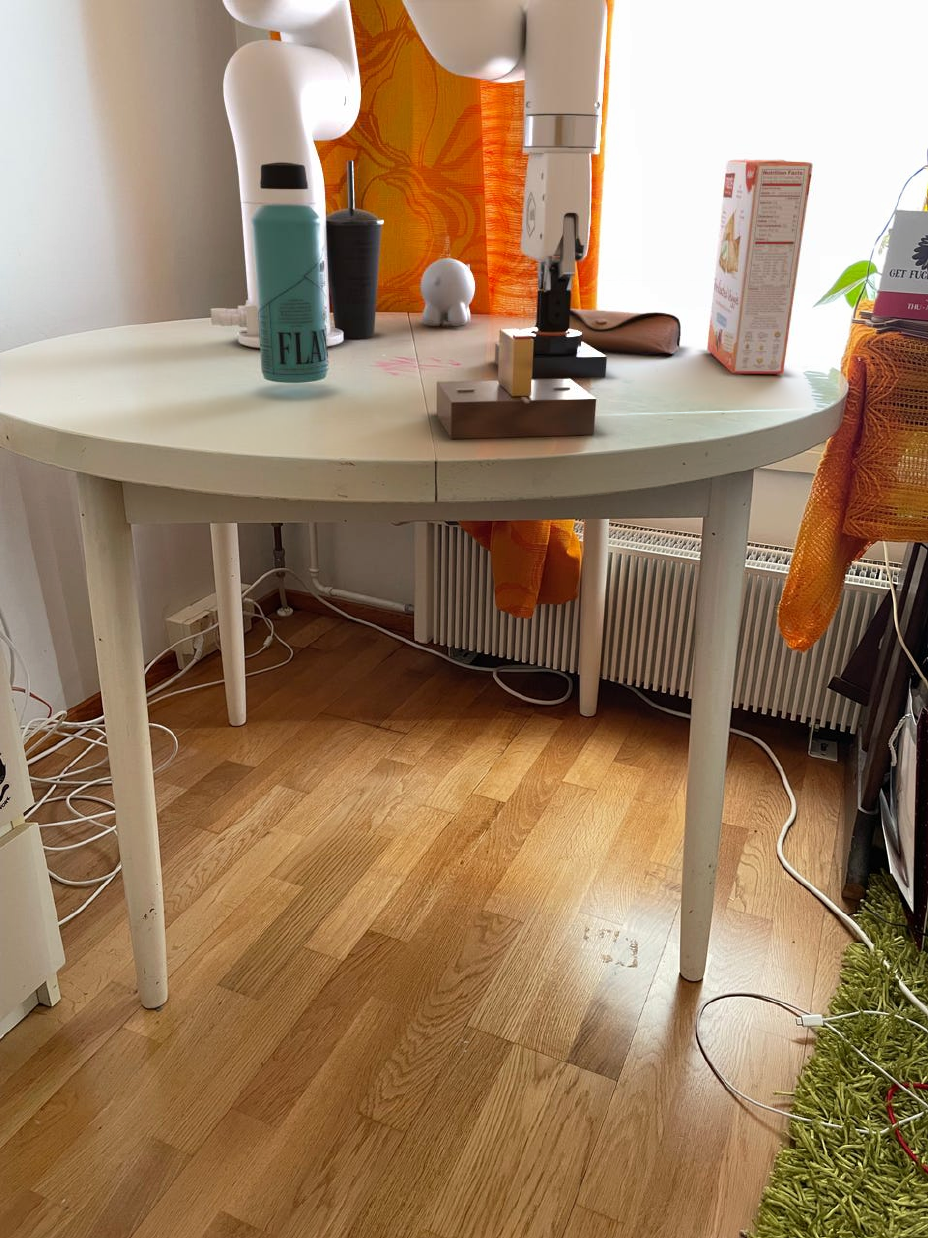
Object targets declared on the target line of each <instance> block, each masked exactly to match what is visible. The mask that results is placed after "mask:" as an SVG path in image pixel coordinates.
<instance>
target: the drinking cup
mask: <svg viewBox="0 0 928 1238" xmlns="http://www.w3.org/2000/svg"><path fill="white" fill-rule="evenodd" d="M346 167H347V171H346V173H347V198H348V199H347V202H348V203H347V204H348V208H342V209H338V210H335V211H332V212H331V213H329V214H326V235H327V259H328V283H329V294H330V299H331V308H332V309H331V310H332V317H333V325H334V328H338V329H340V330H342V331H343V339H345V340H346V339H347V340H361V339H362V340H363V339H371V338H373V337H375V326H376V324H375V323H376V313H377V312H376V311H377V297H378V281H379V268H380V267H379V266H380V252H381V251H380V250H381V240H382V239H381V238H382V226H383V225H384V224H385V221H384V219H382V218H379V217H378V216H376V215H375V214H374V213H372V212H370V211H367V210H364V209H360V208H355V189H354V188H355V187H354V185H355V184H354V183H355V182H354V161H353V160H346Z"/></svg>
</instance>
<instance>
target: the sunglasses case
mask: <svg viewBox="0 0 928 1238" xmlns="http://www.w3.org/2000/svg"><path fill="white" fill-rule="evenodd" d="M534 328H537V327H536V324H535V325H534ZM569 329H571V330H577V331H579V332H581V333H582V342H584V343H585V344H587V345H589V346H590V347H592V348H594V349H595V350H597V351H598V352H600V353H607V354H619V355H653V354H654V355H655V354H667V355H668V354H670V355H675V354H676V353H677V351H678V350H680V347H681V346H680V342H681V336H682V335H681V334H682V333H681V321H680V319H679V318H678V317H677V316H675V315H673V314H670V313H665V312H657V311H656V312H644V313H643V312H642V313H640V312H628V311H615V310H613V311H612V310H603V309H600V310H598V309H581V308H572V307H570V325H569Z"/></svg>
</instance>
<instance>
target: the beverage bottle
mask: <svg viewBox="0 0 928 1238" xmlns="http://www.w3.org/2000/svg"><path fill="white" fill-rule="evenodd" d="M260 187H261V189H308V183H307V179H306V170H305V166H304V165H299V164H294V163H286V162H278V163H270V164H264V165H261V181H260ZM251 224H252V230H253V244H254V257H255V271H256V284H257V297H258V324H259V338H260V348H259V350H260V352H259V353H260V366H261V373H262V377H263V379H264V380H266V381H269V382H275V383H282V384H283V383H285V384H301V383H310V382H318V381H321V380H324V379H326V377H327V375H328V370H329V369H330V366H329V364H330V363H329V360H328V359H329V352H328V351H329V350H328V348H329V346H327V344H326V336H327V328H326V325H325V319H326V318H327V316H326V314H325V313H326V312H325V308H326V307H325V308H324V295H325V294H324V286H325V285H323V284H325V282H324V278H325V273H324V278H323V270H325V269H324V262H323V261H322V255H323V253H322V250H324V248H323V249H322V244H321V228H320V225H321V218H320V217H319V215H318V214H317V213H316V212H315V211H314V210H313V209H312V208H311V207H310V206H307V205H287V204H277V205H262V206H261V207H260V208H259V209H258V210H257V211H256V212H255V214H254V215H253V216H252V218H251ZM323 282H324V283H323ZM325 299H326V298H325ZM325 316H326V318H325ZM327 338H328V337H327ZM327 340H328V339H327ZM327 343H328V341H327Z"/></svg>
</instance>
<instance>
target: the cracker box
mask: <svg viewBox="0 0 928 1238" xmlns="http://www.w3.org/2000/svg"><path fill="white" fill-rule="evenodd" d="M812 171H813V163H812V162H807V161H790V160H785V159H748V158H747V159H746V158H745V159H732V160H727V161H726V166H725V176H724V185H723V193H722V194H723V195H722V204H721V215H720V224H719V225H720V226H719V234H718V243H717V253H716V262H715V269H714V270H715V271H714V280H713V290H712V300H711V307H710V309H711V310H710V318H709V329H708V337H707V345H706V346H707V347H706V349H707V351H709V353H710V354H712V356H713V357H715V359H716V360H717V361H718V362H720V363H721V365H723V366H724V367H725V368H726V369H727V370H728V371H729V373H731V374H733V375H783V374H784V370H785V364H786V363H785V362H786V356H787V347H788V342H789V334H790V327H791V321H792V320H791V319H792V314H793V313H792V312H793V305H794V300H795V299H794V298H795V293H796V292H795V290H796V285H797V277H798V270H799V264H800V257H801V249H802V241H803V235H804V228H805V221H806V216H807V215H806V214H807V208H808V201H809V193H810V186H811V180H812V173H813V172H812Z"/></svg>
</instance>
